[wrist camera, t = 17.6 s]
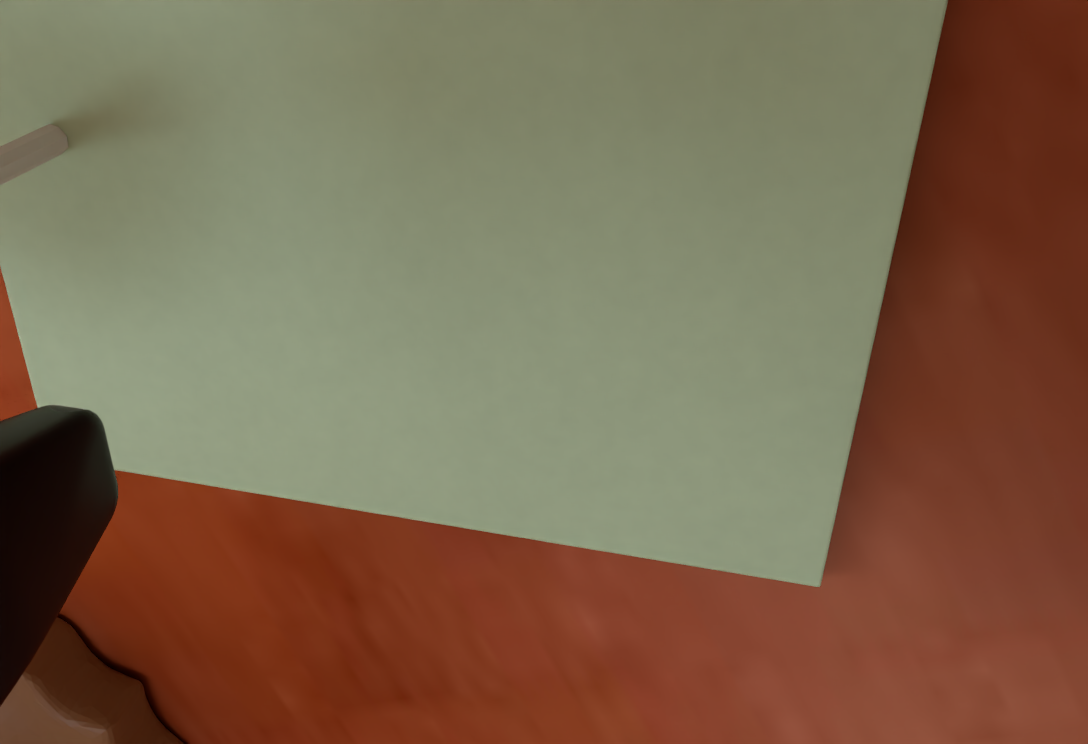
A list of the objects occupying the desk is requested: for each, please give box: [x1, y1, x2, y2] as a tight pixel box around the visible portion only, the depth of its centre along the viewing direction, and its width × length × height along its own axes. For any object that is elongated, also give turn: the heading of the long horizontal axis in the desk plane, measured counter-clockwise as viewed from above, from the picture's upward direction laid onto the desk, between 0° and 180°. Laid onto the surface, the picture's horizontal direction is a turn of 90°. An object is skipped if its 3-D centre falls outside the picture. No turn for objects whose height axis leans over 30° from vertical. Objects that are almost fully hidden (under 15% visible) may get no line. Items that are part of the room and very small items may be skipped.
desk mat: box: [0, 0, 948, 587], centre depth 21 cm, size 20×18×1 cm
